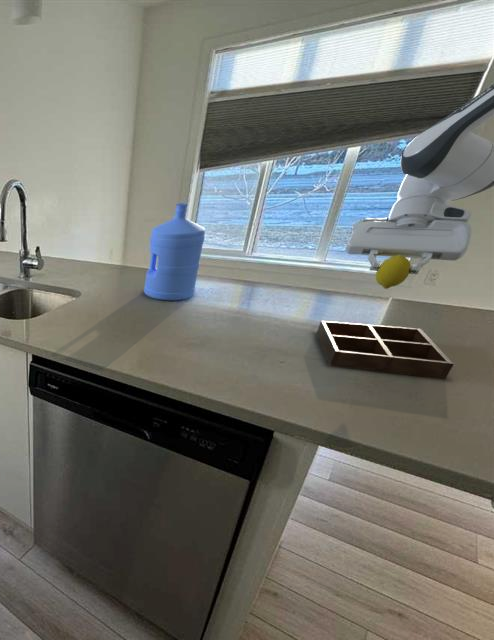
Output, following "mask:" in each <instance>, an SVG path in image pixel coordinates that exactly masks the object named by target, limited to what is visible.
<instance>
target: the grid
mask: <svg viewBox="0 0 494 640" xmlns="http://www.w3.org/2000/svg"><path fill="white" fill-rule="evenodd" d="M315 334H316V336H317V338H318V340H319V343H320V346H321V349H322V350H323V352H324V353H323V354H324V355H325V357H326V360H327V363H328V365H329V366H331V367H338V368H339V367H340V368H347V369H355V370H363V371H364V370H365V371H371V372H381V373H389V374H397V375H407V376H412V377H413V376H415V377H422V378H432V379H441V380H446V379H447V377H448V376H449V374H450V372H451V370H452V368H453V366H454V364H455V363H454V362H453V361H452V360H451V359H450V358H449V357H448V356H447V355H446V353H444V352H443V351H442V349H440V348H439V346H438V345H437V344H436V343H435V342H434V341H433V340H432V339H431V338H430V337H429V335H427V333H425V331H424V330H423V329H422V328H419V327H418V328H416V327H407V326H406V327H405V326H392V325H381V324H380V325H379V324H369V323H368V324H367V323H354V322H345V321H330V320H320V322H319V325H318V329H317V331H316V333H315Z"/></svg>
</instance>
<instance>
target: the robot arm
mask: <svg viewBox="0 0 494 640" xmlns="http://www.w3.org/2000/svg"><path fill="white" fill-rule="evenodd" d="M493 117H494V83H492V84H491V85H490V86H488V87H487V88H486V89H484V90H483V91H481V92H480V93H479V94H477V95H476V96H474V97H473V98H472V99H470V100H469V101H467V102H466V103H464V104H463V105H462V106H460V107H459V108H457V109H456V110H455V111H454V112H451V114H449V115H447V116H446V117H444V118H443V119H440V120H439V121H438V122H436V123H433V124H432V125H431V126H429V127H427V128H426V129H424V130H422V131H421V132H420V133H418V134H416V136H415V137H413V138H412V139H411V140H410V141H409V142H408V143H407V144H406V146H404V148H403V149H402V152H401V155H400V164H399V165H400V169H401V172H402V174H404V175H405V176H404V178H403V180H402V182H401V184H400V187H399V189H398V192H397V200H396V201H395V203H394V204H393V206H392V207H391V210H390V213H389V216H388V217H379V218H378V217H377V218H371V217H364V218H363V219H359V220H356V221H355V222H354V223H353V224H352V227H351V230H350V231H351V233H352V234H351V235H350V237H349V239H348V241H347V243H346V246H345V251H346V253H347V254H349V255H358V256H359V255H361V256H368V257H367V260H368V262H369V264H370V267H369V271H372V272H377V270H378V268H379V266H380V265H381V264H382V261H381V260H377V256H378V257H389V258H390V257H394V256H397V255H402V256H403V257H405V258H407V259H420V261H419V262H417V263H412V264H411V266H410V272H409V275H418V274H419V272H420V270H421V269H422V268H423V267H424V266H426V265H427V264H428V263H429V262H430V261H431V260H439V261H440V260H441V261H452V262H453V261H455V262H456V261H457V260H459V259H461V258H462V257H464V256H465V254H466V252H467V251H468V248H469V245H470V241H471V236H472V226H471V224H470V223H469V222H470V219H471V216H472V211H471V210H468V209H465V208H460V207H455V206H451V205H448V204H447V203H448V202H450V201H451V202H454V201H458V200H461V199H465V198H468V197H471V196H473V195H476V194H480V193H482V192H485V191H487V190H489V189H490V188H493V187H494V141H492V140H488V139H486V138H484V137H481V136H480V135H478V134H475V133H473V132H472V131H474V130H475V129H477V128H479V127H480V126H482V125H483V124H484V123H485V122H487V121H488V120H490V119H492V118H493Z"/></svg>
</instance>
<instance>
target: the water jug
mask: <svg viewBox="0 0 494 640" xmlns="http://www.w3.org/2000/svg"><path fill="white" fill-rule="evenodd" d="M188 206H189V203H186V202H185V203H181V202H180V203H176V207H175V210H174V213H175V214H174V217H173V218H172V219H169V220H167V221H165V222H163V223H162V224H159V225H157V226H154V227H153V228H152V229H151V232H150V233H151V234H150V237H149V238H150V239H149V249H148V250H149V253H150V261H149V268H148V270H147V271H146V273H145V283H144V287H143V293H144V294H145V295H146V296H147V297H149V298H151V299H155V300H159V301H171V302H172V301H182V300H186V299H189V298H191V297H193V296H194V294H195V293H196V284H197V283H196V282H197V277H198V272H199V270H200V264H201V256H202V251H203V246H204V242H205V238H206V228H205V227H204V226H202V225H199V224H198V223H196V222H194V221H192V220H190V219H188V218H187V211H188V210H187V209H188Z"/></svg>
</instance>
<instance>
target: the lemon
mask: <svg viewBox="0 0 494 640" xmlns="http://www.w3.org/2000/svg"><path fill="white" fill-rule="evenodd" d="M411 266H412V264H411V261H410V260H409V258H406V257H403V256H402V255H397V256H394V257H390V256H389V257H388V258H386V259H384V261H382V262H381V263H380V266H379V268H378V270H377V271H375V272H376V273H375V281H376V282H377V284H379V285H380V286H382V288H383V289H385V290H387V289H390V288H392V287H396V286H399V285H400V284H402V283H403V282H404V281H405V280H406V279H407V278H408V277H409V275H410V274H409V272H410V268H411Z"/></svg>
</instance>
